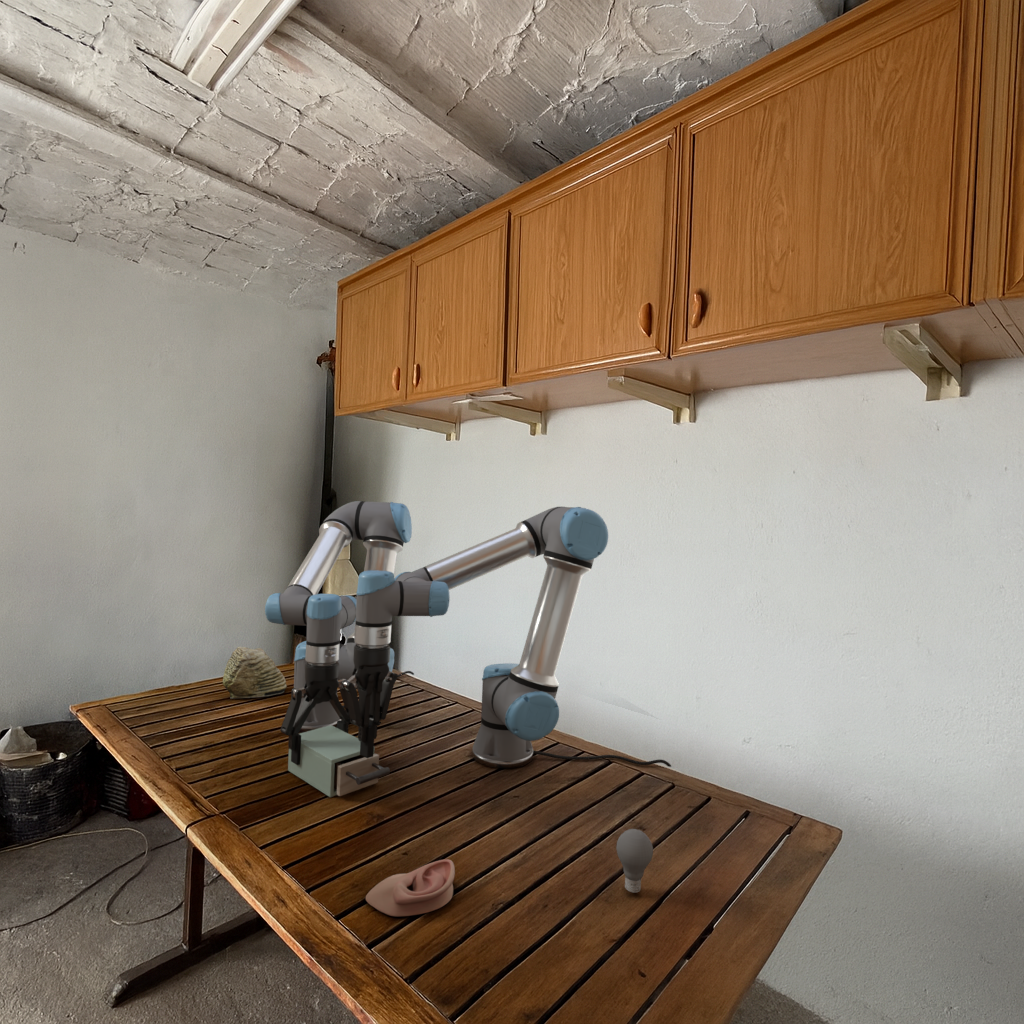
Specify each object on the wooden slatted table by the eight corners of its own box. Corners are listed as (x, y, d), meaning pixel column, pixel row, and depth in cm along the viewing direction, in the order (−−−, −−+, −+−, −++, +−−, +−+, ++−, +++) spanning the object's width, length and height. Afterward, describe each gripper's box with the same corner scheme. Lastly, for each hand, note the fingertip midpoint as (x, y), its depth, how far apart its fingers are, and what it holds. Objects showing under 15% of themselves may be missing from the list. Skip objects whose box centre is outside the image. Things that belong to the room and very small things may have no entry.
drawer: (393, 790, 136) (394, 762, 136) (354, 805, 129) (355, 776, 129) (336, 759, 151) (337, 733, 151) (298, 771, 144) (299, 744, 143)
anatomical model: (357, 884, 98) (387, 845, 109) (356, 910, 98) (386, 868, 109) (440, 899, 95) (461, 857, 106) (439, 925, 95) (460, 881, 106)
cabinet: (373, 781, 142) (374, 746, 142) (330, 797, 134) (331, 760, 134) (329, 757, 154) (331, 725, 154) (287, 770, 146) (289, 736, 145)
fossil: (218, 695, 195) (220, 647, 195) (278, 685, 208) (279, 640, 207) (228, 703, 189) (230, 653, 188) (289, 692, 201) (290, 645, 201)
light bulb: (610, 879, 108) (613, 822, 108) (644, 879, 109) (647, 822, 109) (619, 902, 102) (622, 840, 102) (655, 901, 103) (658, 840, 103)
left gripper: (283, 674, 135) (279, 775, 136) (374, 657, 153) (370, 747, 153) (266, 666, 140) (262, 764, 141) (356, 651, 158) (352, 738, 158)
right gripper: (356, 652, 126) (350, 769, 127) (408, 643, 136) (402, 752, 136) (335, 644, 131) (329, 757, 132) (386, 637, 141) (381, 742, 141)
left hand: (318, 755), depth 147 cm, fingers closed on cabinet, 11 cm apart
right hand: (366, 755), depth 134 cm, fingers closed
